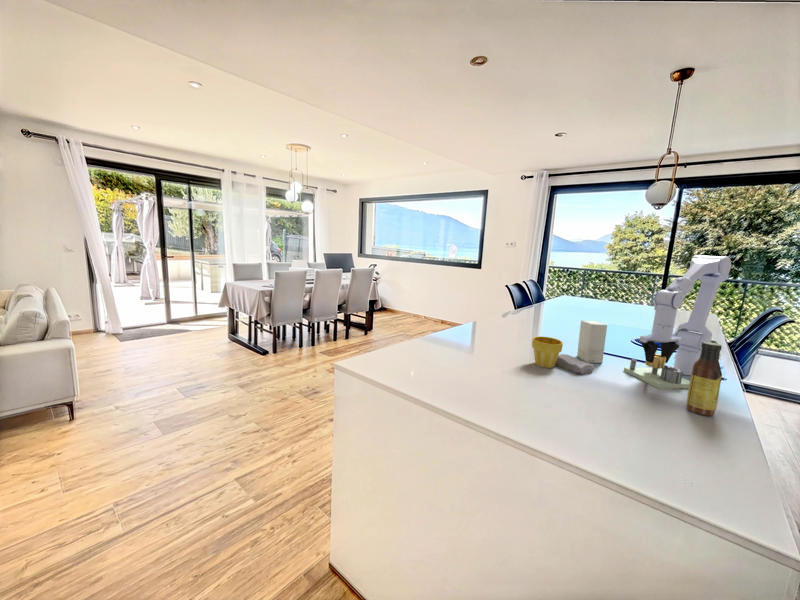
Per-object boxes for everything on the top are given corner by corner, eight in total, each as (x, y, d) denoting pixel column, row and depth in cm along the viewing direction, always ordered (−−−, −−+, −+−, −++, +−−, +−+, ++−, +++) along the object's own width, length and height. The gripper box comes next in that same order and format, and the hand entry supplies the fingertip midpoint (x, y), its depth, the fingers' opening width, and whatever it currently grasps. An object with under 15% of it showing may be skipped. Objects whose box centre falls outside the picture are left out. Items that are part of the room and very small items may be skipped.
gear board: (657, 371, 127) (659, 356, 126) (696, 388, 112) (699, 371, 111) (623, 371, 125) (626, 355, 124) (658, 388, 110) (662, 371, 109)
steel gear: (664, 376, 117) (667, 365, 117) (683, 382, 113) (685, 370, 112) (657, 378, 115) (659, 367, 114) (676, 384, 110) (678, 373, 110)
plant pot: (540, 370, 121) (543, 344, 119) (524, 360, 131) (527, 336, 129) (565, 369, 123) (569, 344, 122) (548, 360, 133) (551, 336, 132)
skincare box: (602, 363, 132) (608, 325, 130) (585, 362, 132) (591, 324, 130) (591, 356, 141) (596, 320, 138) (575, 355, 141) (580, 319, 138)
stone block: (567, 366, 133) (550, 363, 129) (571, 354, 133) (554, 351, 128) (595, 378, 123) (578, 376, 118) (599, 366, 122) (582, 363, 118)
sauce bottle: (720, 418, 92) (736, 348, 88) (693, 415, 93) (708, 345, 89) (703, 407, 98) (718, 341, 95) (679, 404, 99) (692, 339, 96)
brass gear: (654, 363, 123) (656, 353, 122) (667, 369, 118) (670, 358, 117) (641, 363, 122) (643, 352, 121) (654, 368, 117) (656, 357, 116)
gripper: (671, 322, 122) (664, 358, 124) (635, 321, 120) (629, 357, 122) (690, 327, 115) (682, 365, 117) (652, 326, 113) (645, 364, 115)
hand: (656, 361), depth 119 cm, fingers closed on brass gear, 5 cm apart
